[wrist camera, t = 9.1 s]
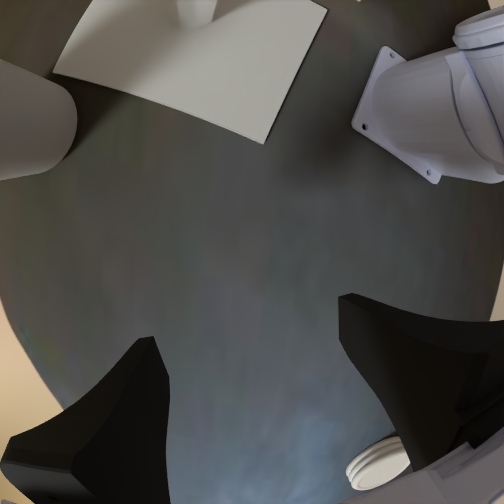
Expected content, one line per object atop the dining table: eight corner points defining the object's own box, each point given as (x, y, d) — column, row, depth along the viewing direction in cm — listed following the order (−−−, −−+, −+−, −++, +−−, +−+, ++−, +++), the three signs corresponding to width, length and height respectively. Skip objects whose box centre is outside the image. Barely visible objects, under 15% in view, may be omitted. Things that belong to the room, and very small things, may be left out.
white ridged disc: (395, 461, 36) (404, 475, 33) (339, 481, 35) (347, 498, 31) (412, 425, 33) (424, 441, 30) (350, 449, 32) (360, 468, 28)
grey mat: (325, 11, 17) (327, 9, 16) (262, 144, 19) (263, 143, 19) (134, -50, 12) (134, -53, 12) (54, 73, 15) (52, 72, 15)
